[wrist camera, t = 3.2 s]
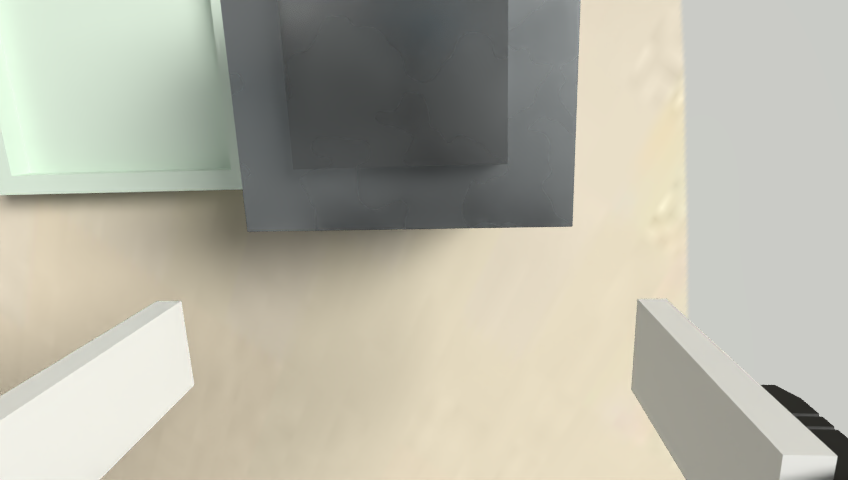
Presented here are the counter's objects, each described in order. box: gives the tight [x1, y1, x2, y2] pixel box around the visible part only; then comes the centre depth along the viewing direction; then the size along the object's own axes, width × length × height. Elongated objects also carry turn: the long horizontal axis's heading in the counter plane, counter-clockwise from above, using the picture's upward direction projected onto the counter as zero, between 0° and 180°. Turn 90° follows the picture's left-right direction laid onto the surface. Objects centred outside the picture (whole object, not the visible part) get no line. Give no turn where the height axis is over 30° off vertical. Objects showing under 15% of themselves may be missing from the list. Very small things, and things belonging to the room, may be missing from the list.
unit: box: [220, 0, 580, 232], centre depth 20 cm, size 11×11×13 cm
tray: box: [0, 0, 242, 195], centre depth 26 cm, size 16×14×2 cm
